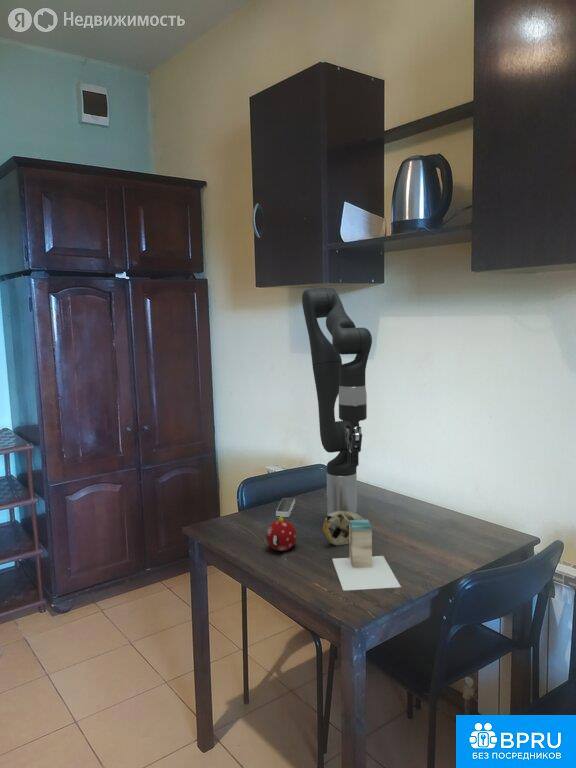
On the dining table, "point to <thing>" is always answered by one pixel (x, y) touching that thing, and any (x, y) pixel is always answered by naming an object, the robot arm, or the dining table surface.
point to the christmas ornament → (281, 535)
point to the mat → (365, 575)
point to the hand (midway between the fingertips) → (353, 464)
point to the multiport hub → (285, 507)
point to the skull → (339, 526)
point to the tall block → (360, 543)
